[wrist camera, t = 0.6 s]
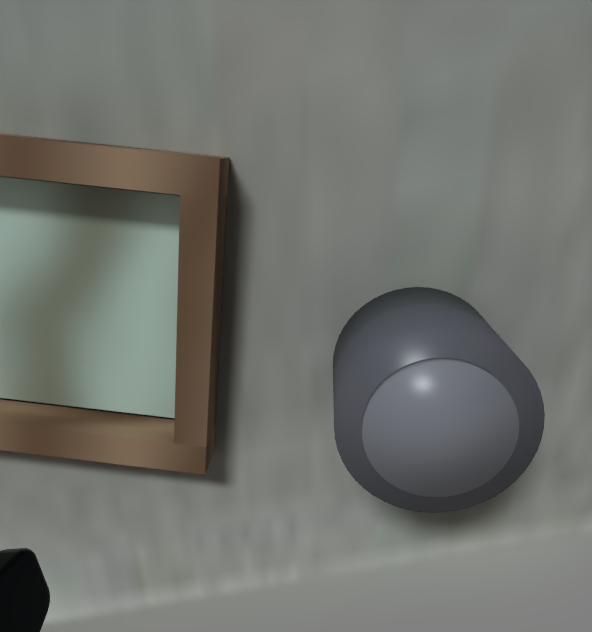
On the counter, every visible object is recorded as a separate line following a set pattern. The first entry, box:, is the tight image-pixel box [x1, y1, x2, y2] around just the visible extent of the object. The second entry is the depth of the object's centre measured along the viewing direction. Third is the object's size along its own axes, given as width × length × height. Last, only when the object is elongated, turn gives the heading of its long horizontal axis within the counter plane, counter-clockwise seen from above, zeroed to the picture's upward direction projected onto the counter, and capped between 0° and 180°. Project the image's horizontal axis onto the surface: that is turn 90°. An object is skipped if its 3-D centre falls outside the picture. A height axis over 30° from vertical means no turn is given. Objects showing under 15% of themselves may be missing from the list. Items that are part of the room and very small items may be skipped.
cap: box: [333, 287, 545, 513], centre depth 17 cm, size 6×6×5 cm
